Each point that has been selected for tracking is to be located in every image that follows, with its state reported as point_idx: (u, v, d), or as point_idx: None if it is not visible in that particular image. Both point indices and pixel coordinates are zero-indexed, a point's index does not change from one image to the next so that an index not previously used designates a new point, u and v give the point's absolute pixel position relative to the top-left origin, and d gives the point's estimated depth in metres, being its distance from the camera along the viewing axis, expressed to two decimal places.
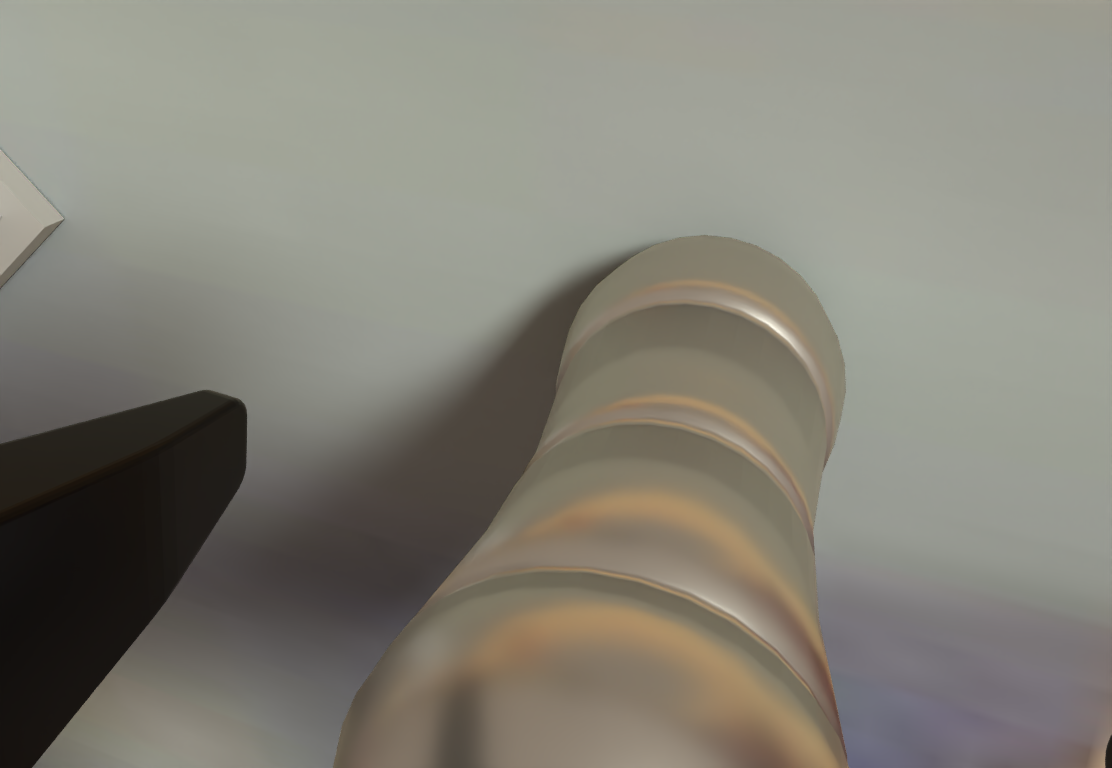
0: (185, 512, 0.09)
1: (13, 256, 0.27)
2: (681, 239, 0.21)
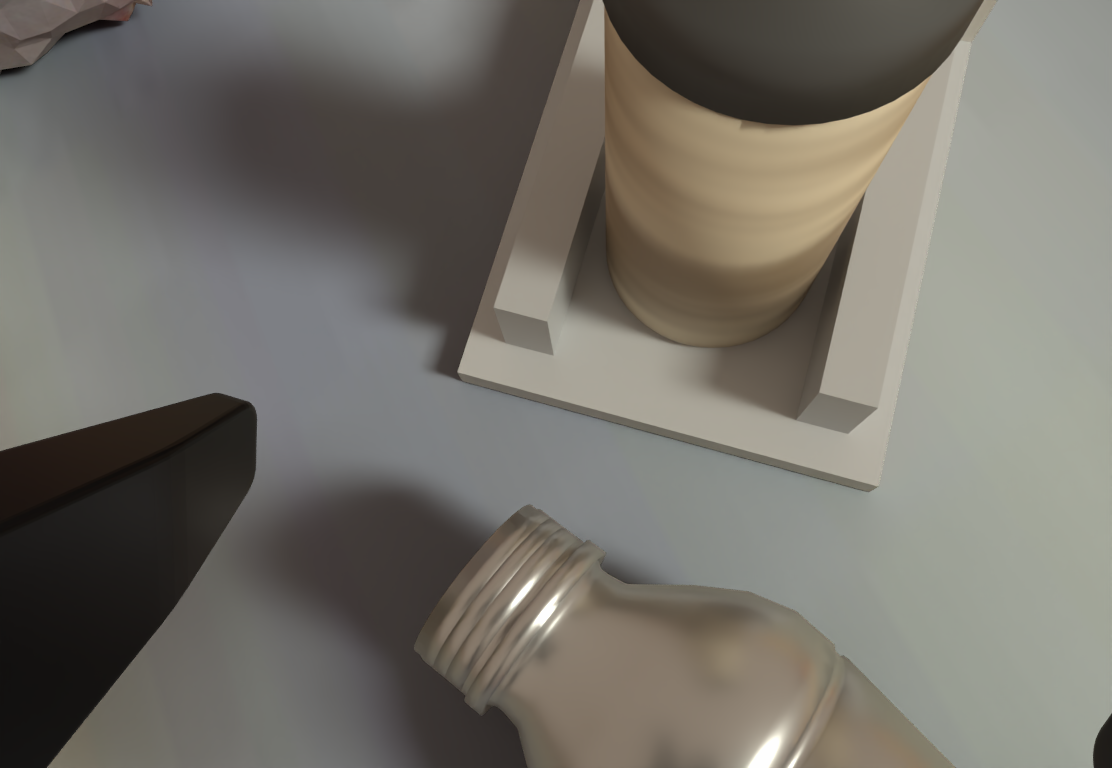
0: (196, 515, 0.09)
1: (807, 463, 0.21)
2: None
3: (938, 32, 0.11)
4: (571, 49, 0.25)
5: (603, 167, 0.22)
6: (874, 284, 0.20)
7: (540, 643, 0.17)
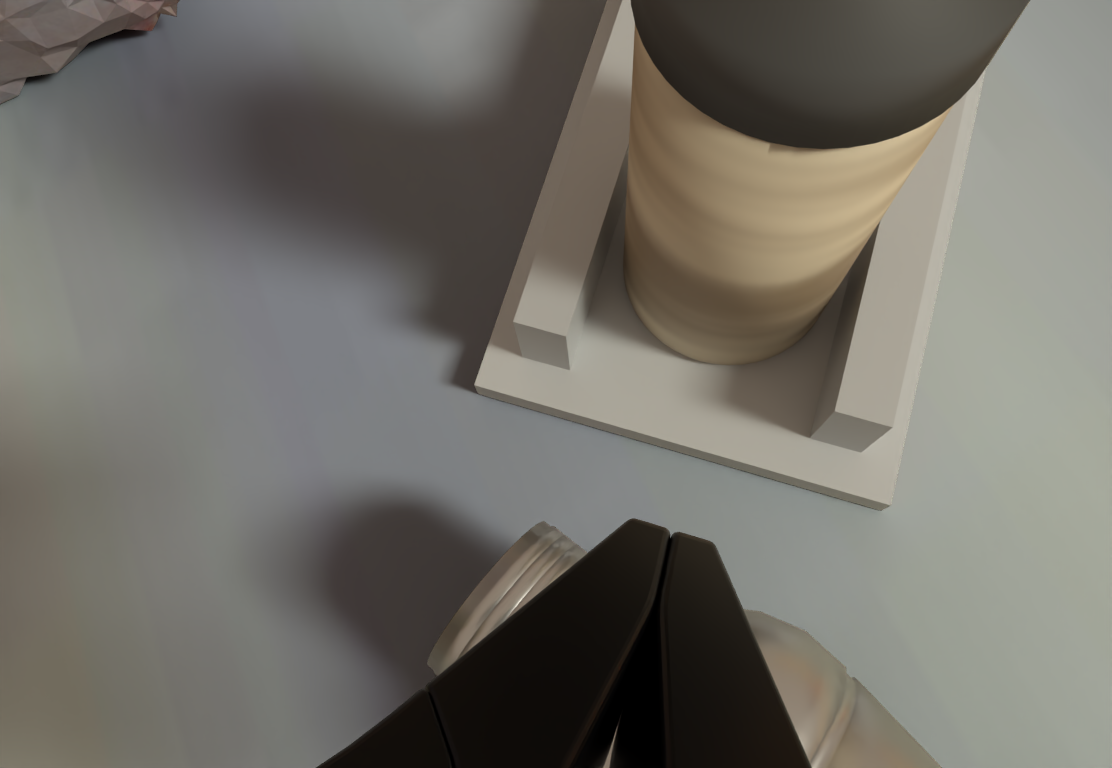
0: None
1: (820, 481, 0.22)
2: None
3: (967, 62, 0.11)
4: (590, 68, 0.25)
5: (622, 185, 0.22)
6: (890, 305, 0.20)
7: None
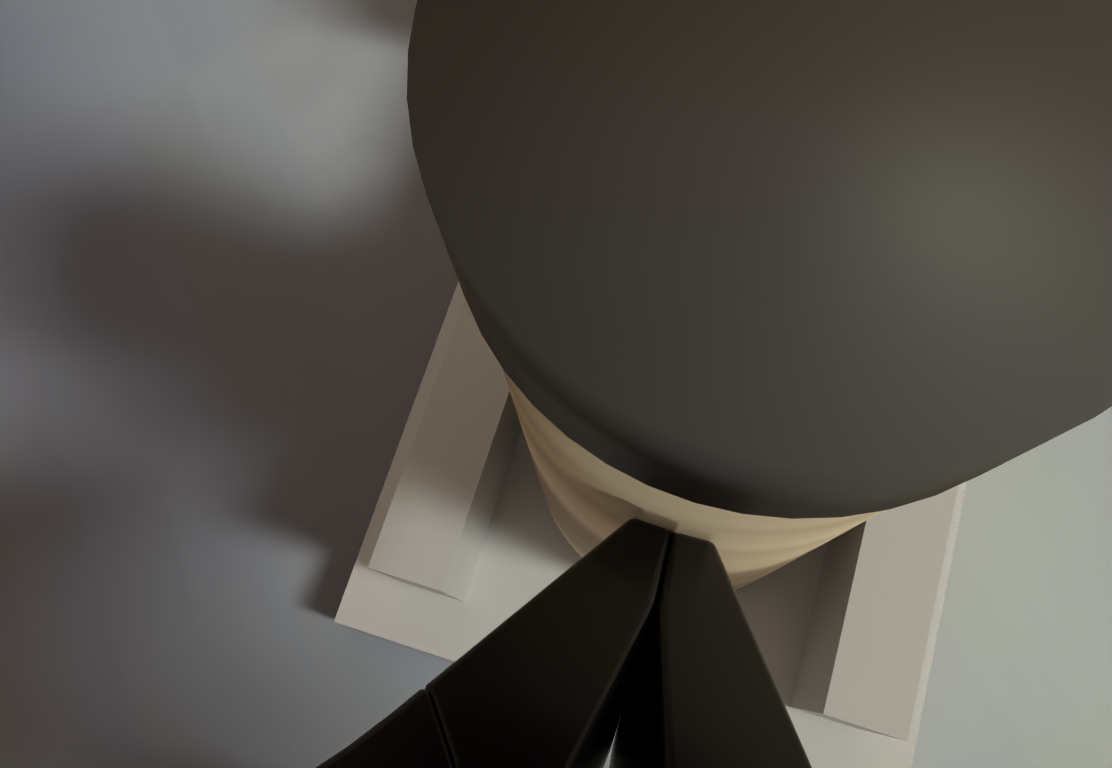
0: None
1: None
2: None
3: (1090, 415, 0.05)
4: None
5: None
6: (903, 551, 0.14)
7: None
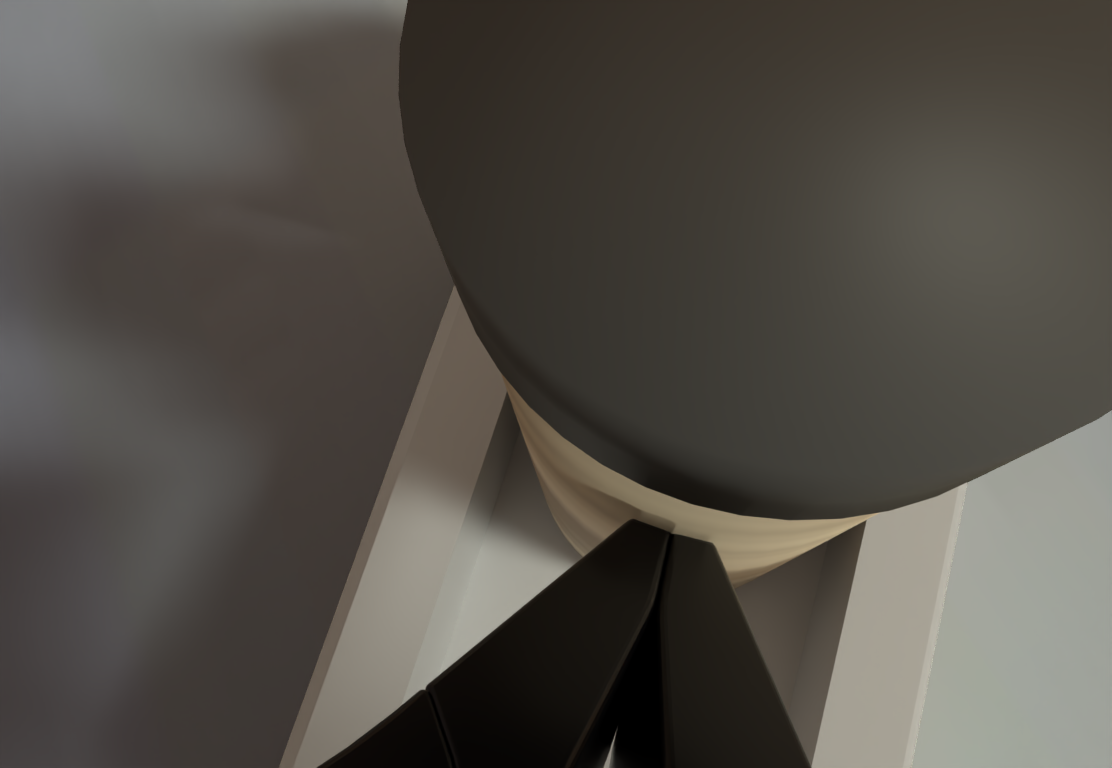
0: None
1: None
2: None
3: (1092, 416, 0.05)
4: (428, 386, 0.18)
5: (448, 608, 0.15)
6: None
7: None
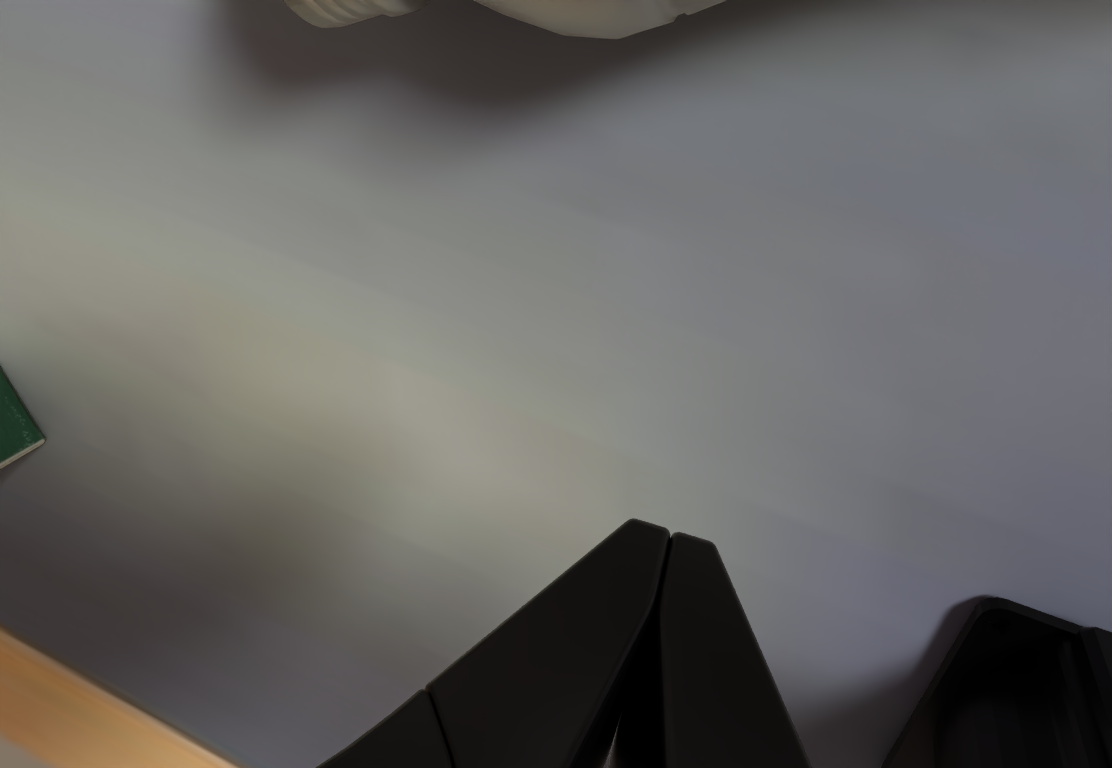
0: None
1: None
2: None
3: None
4: None
5: None
6: None
7: None
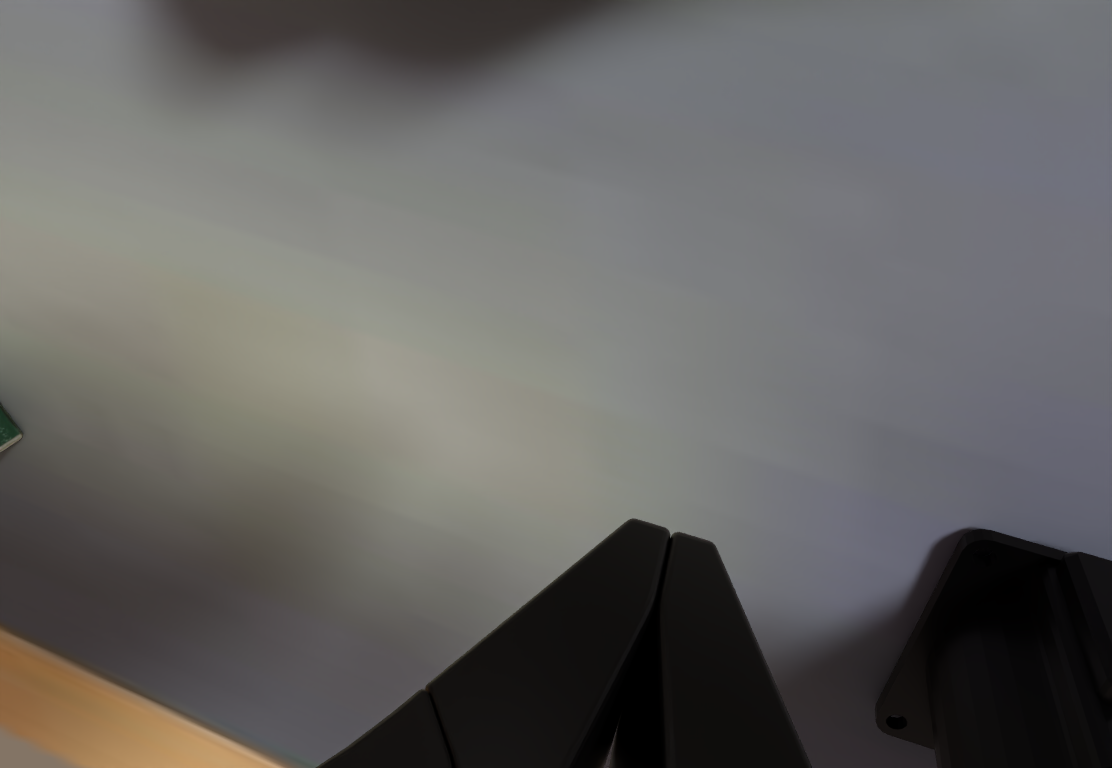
0: None
1: None
2: None
3: None
4: None
5: None
6: None
7: None
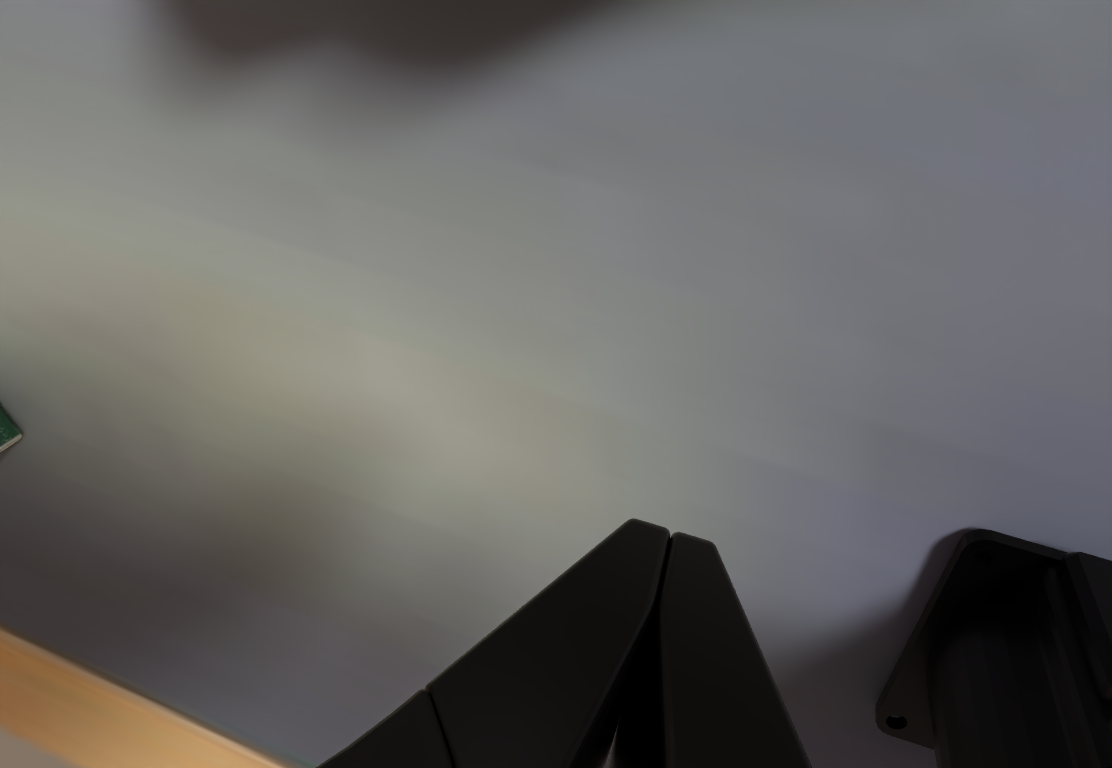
0: None
1: None
2: None
3: None
4: None
5: None
6: None
7: None
